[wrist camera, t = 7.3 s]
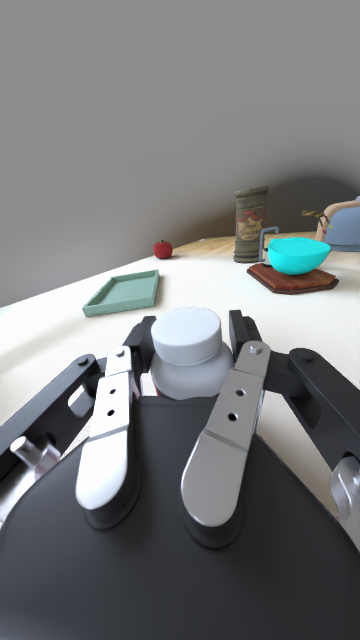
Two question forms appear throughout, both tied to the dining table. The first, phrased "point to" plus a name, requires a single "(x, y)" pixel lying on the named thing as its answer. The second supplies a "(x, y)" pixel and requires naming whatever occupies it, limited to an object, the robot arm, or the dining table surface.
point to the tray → (124, 294)
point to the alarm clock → (341, 226)
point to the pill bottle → (189, 354)
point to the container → (250, 223)
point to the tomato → (162, 249)
